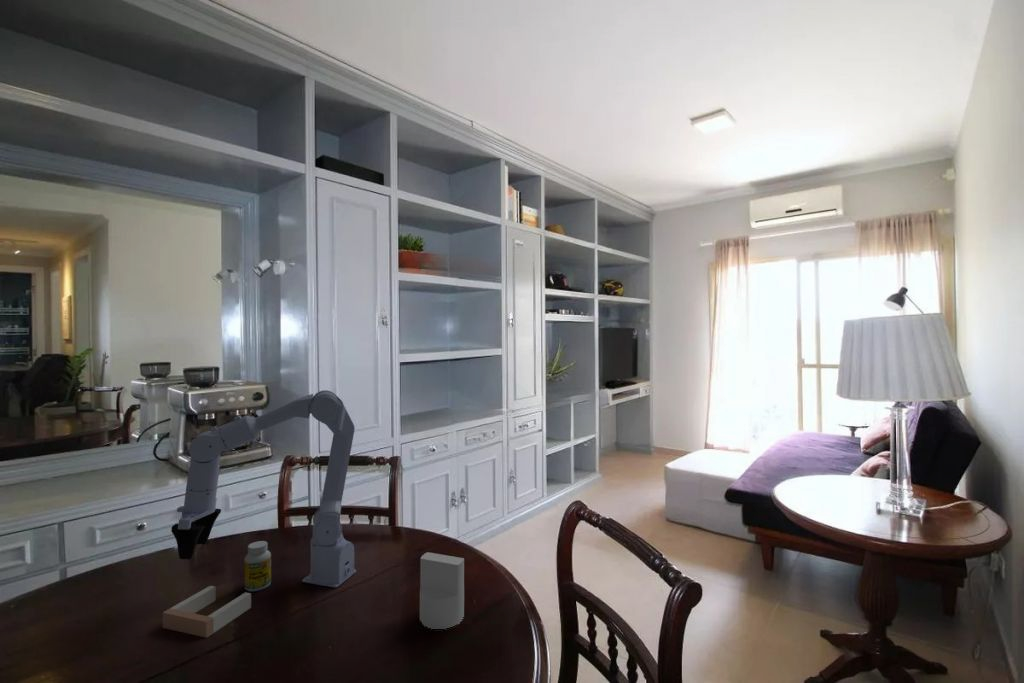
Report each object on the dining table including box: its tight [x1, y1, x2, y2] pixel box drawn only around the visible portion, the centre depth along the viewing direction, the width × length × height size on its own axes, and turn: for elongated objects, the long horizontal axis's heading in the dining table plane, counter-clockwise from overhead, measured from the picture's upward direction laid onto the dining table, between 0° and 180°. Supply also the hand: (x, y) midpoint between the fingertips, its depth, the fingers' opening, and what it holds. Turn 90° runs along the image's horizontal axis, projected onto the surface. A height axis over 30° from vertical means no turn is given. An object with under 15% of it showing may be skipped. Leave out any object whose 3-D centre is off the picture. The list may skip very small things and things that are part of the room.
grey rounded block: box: [419, 552, 465, 630], centre depth 97 cm, size 9×9×12 cm
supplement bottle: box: [244, 540, 272, 592], centre depth 109 cm, size 5×5×10 cm
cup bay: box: [162, 585, 252, 638], centre depth 96 cm, size 11×10×3 cm
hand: (193, 550), depth 103 cm, fingers open, 7 cm apart
